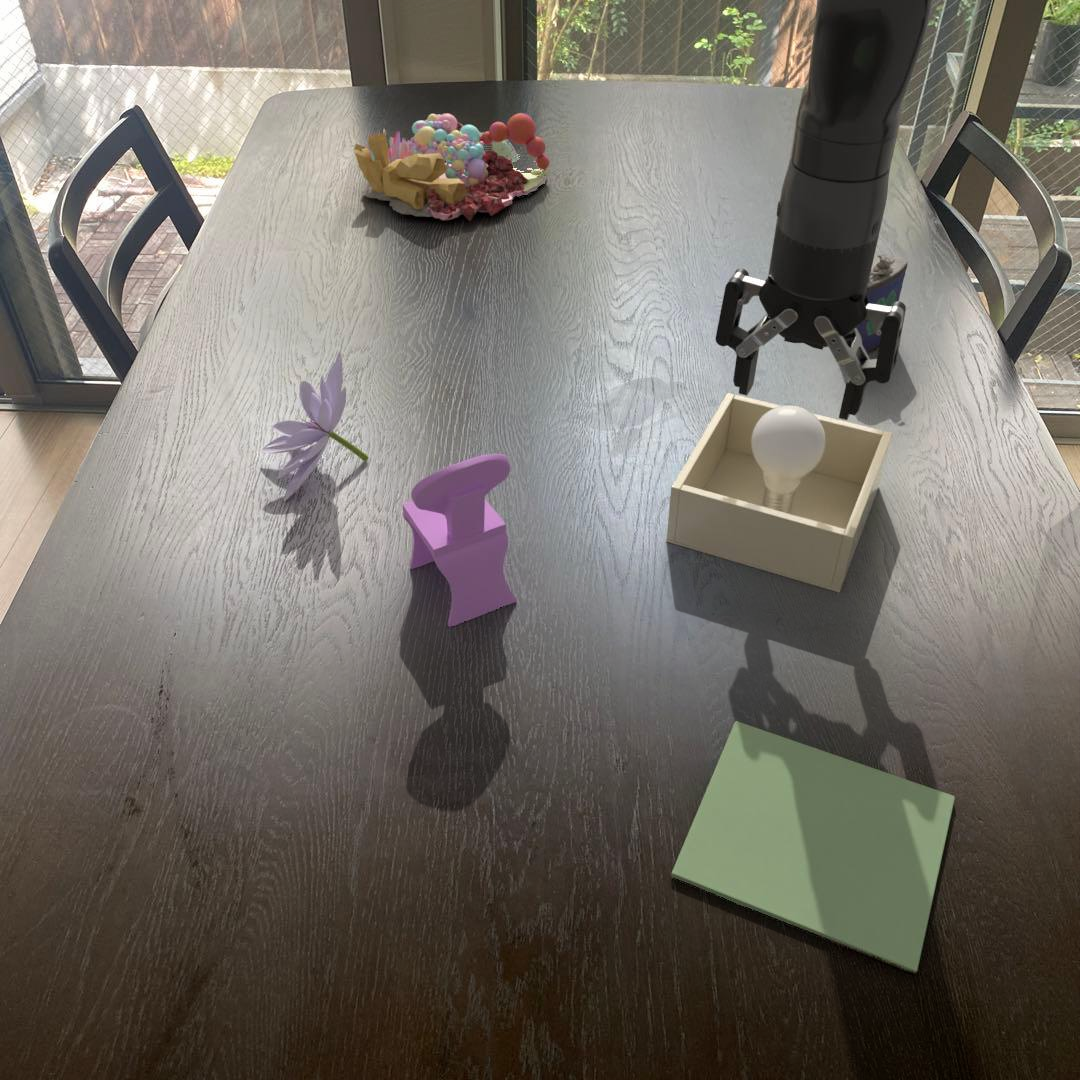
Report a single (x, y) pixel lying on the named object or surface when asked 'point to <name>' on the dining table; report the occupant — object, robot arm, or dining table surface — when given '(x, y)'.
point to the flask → (882, 294)
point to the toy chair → (463, 534)
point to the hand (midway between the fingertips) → (794, 402)
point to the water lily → (313, 427)
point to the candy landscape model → (451, 167)
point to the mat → (819, 843)
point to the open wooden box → (766, 534)
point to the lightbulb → (786, 452)
